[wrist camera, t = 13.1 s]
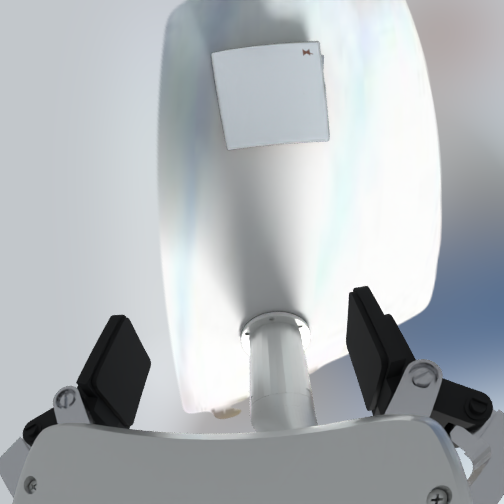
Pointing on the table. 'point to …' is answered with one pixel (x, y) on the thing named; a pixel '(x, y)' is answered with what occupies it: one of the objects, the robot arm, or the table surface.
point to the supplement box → (271, 94)
